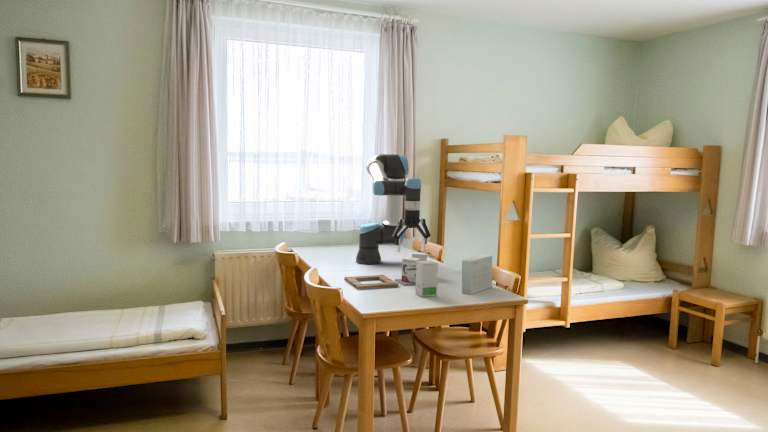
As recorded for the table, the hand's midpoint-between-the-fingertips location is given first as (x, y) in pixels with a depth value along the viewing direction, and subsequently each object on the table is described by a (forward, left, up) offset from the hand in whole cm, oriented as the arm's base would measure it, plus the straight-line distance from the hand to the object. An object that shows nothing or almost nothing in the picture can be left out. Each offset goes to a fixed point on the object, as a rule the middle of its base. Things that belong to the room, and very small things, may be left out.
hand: (410, 251), depth 271 cm
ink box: (0, 0, -15) cm, 15 cm away
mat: (0, 0, -16) cm, 16 cm away
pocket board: (-3, -20, -16) cm, 26 cm away
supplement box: (-11, +10, -16) cm, 22 cm away
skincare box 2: (+23, +25, -16) cm, 38 cm away
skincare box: (+25, -3, -16) cm, 30 cm away
